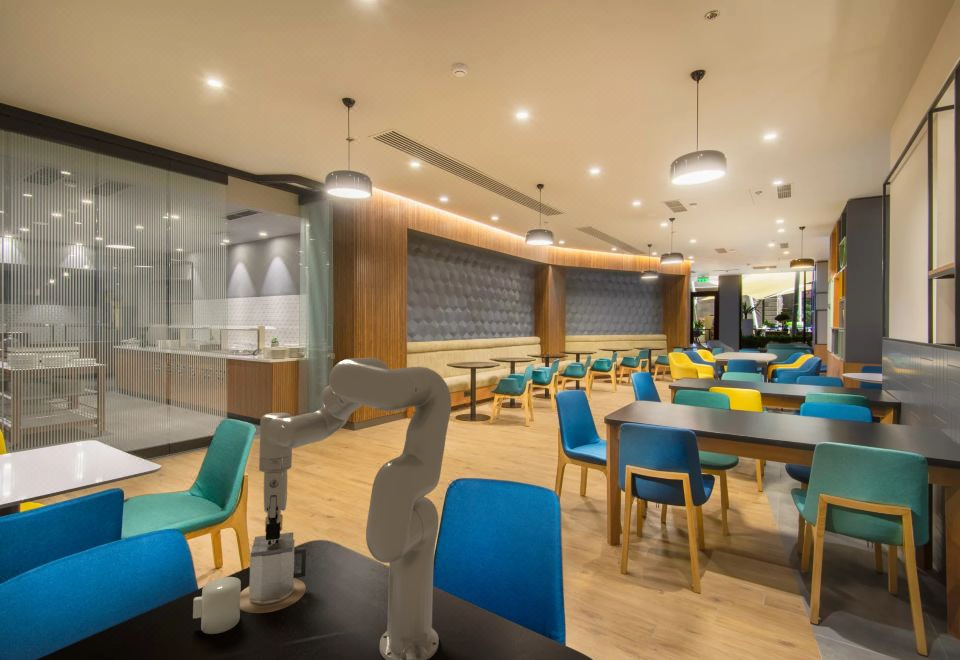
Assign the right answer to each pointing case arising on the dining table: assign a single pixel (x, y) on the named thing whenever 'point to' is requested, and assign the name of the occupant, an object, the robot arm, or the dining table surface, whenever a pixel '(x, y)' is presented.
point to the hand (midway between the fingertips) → (273, 534)
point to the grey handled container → (274, 569)
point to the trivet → (297, 594)
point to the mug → (218, 605)
